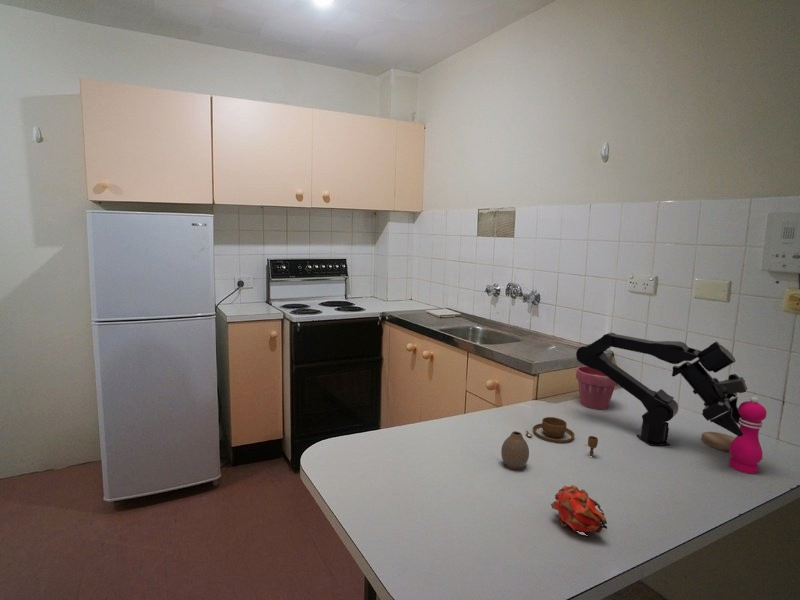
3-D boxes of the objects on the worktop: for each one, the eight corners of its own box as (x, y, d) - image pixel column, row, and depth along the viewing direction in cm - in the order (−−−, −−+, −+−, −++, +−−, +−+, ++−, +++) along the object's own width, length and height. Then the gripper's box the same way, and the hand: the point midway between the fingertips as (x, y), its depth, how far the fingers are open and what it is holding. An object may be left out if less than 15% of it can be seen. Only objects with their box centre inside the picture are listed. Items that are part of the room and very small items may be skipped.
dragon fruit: (552, 515, 102) (599, 555, 93) (535, 504, 97) (583, 545, 88) (574, 483, 103) (623, 519, 93) (558, 470, 98) (608, 507, 89)
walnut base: (721, 453, 135) (722, 448, 135) (692, 436, 146) (693, 432, 145) (754, 452, 137) (755, 447, 136) (723, 436, 147) (724, 431, 147)
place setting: (577, 430, 147) (579, 412, 146) (600, 461, 127) (602, 440, 126) (520, 426, 148) (522, 408, 147) (534, 456, 128) (536, 435, 127)
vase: (529, 463, 123) (533, 431, 121) (525, 474, 116) (528, 441, 115) (503, 456, 125) (506, 425, 124) (497, 467, 119) (500, 434, 118)
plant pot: (568, 396, 177) (572, 363, 176) (607, 399, 176) (611, 366, 174) (579, 410, 163) (583, 374, 162) (621, 413, 162) (625, 378, 160)
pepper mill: (750, 477, 121) (763, 402, 119) (721, 464, 128) (732, 393, 125) (765, 471, 125) (777, 399, 122) (735, 459, 131) (746, 390, 128)
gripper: (723, 372, 120) (771, 426, 114) (732, 360, 134) (775, 407, 128) (684, 394, 126) (728, 446, 120) (696, 380, 140) (736, 426, 134)
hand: (743, 430), depth 126 cm, fingers open, 9 cm apart
